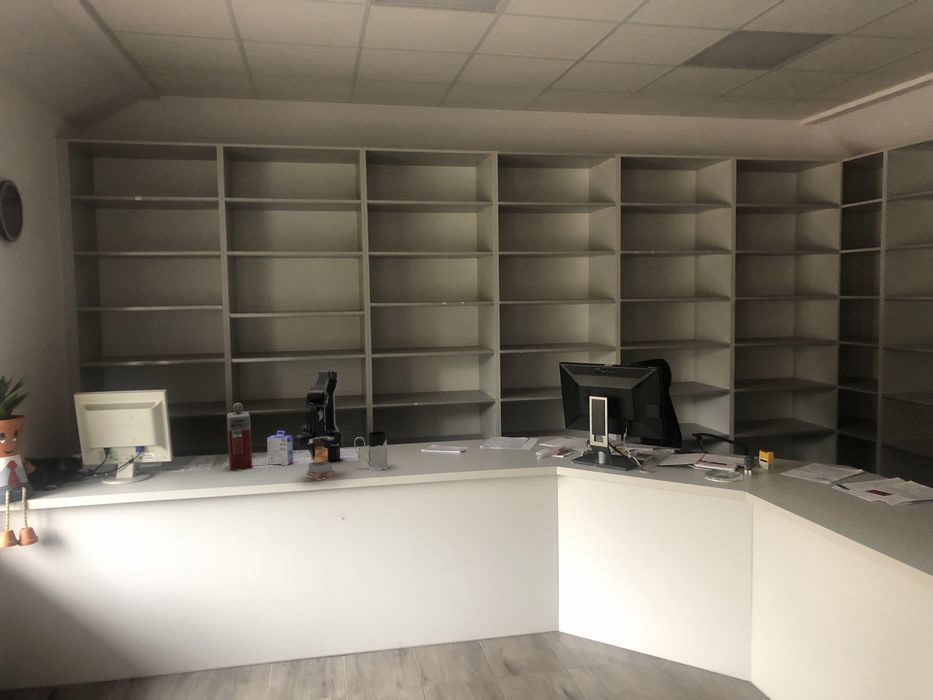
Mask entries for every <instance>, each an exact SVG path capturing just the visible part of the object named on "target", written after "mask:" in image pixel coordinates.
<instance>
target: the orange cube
mask: <svg viewBox="0 0 933 700" xmlns="http://www.w3.org/2000/svg"><path fill="white" fill-rule="evenodd" d="M327 460H328V450H327V448H325V447H323V446H321V445H320V446H315V457H314V459H313V458H312V456H311V455H310V461H313V462H316V463H317V462H322V461H327Z"/></svg>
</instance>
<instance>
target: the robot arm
mask: <svg viewBox="0 0 933 700" xmlns="http://www.w3.org/2000/svg"><path fill="white" fill-rule="evenodd" d="M339 383H340V375H339V374H338V372H335V371H333V370H331V369H330V368H328V369H326V368H324V369H322V368H321V369H319V370H318V374H317V379H316V382H315V385H313V386H311V387H310V388H309V390H308V392H307V393H306V401H305V409H309V410H308V411H307V412H306V414H305V416H304V420H305V422H306V424H302V425H300V432H301V434H299V435H297V434H296V435H295V437H294V440H293V441H294V443H295V444H297V445H300V446H301V445H305V446H306V447H307V448H308V451H309V453H310V457H311V456H312V458H313V459H314V457H315V447H316V446H315V445H316V444H315V443H314V441H315V440H316V441H317V440H320V444H321V445H320V446H323V447H325V448H327V450H328V460H327V462H330V463H335V462H339V461H342V460H343V458H341V448H343V447H344V443H343V432H342V431H341V430H340V428H338V426H337V423H336V403H335V402H336V401H335V400H336V397H335V395H336V393H335V392H336V390H337V388H338V387H339ZM307 424H308V425H307Z"/></svg>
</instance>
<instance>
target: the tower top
mask: <svg viewBox="0 0 933 700" xmlns="http://www.w3.org/2000/svg"><path fill="white" fill-rule="evenodd" d="M308 470H309V471H311V472H314V473H316V474H319V473H324V472H329V471H334V470H333V462H327V461H322V462H317V463H316V462H314V461H313V462H309V463H308Z"/></svg>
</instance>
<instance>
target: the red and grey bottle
mask: <svg viewBox="0 0 933 700" xmlns="http://www.w3.org/2000/svg"><path fill="white" fill-rule="evenodd" d="M232 411H233V412H228V413H227V414H226V422H227V425H226V426H227V441H228V442H227V443H228V444H227V446H228V463H229V465H228V466H229V469H230V471H231V470H232V471H238V469H241V470H246V469H245V468H250V469H253V458H252V457H253V456H252V455H253V453H252V429H251V416H250V413H249V412H248V411H244V405H243V404H242V403H241V402H236V403H234V404H233V406H232Z"/></svg>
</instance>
